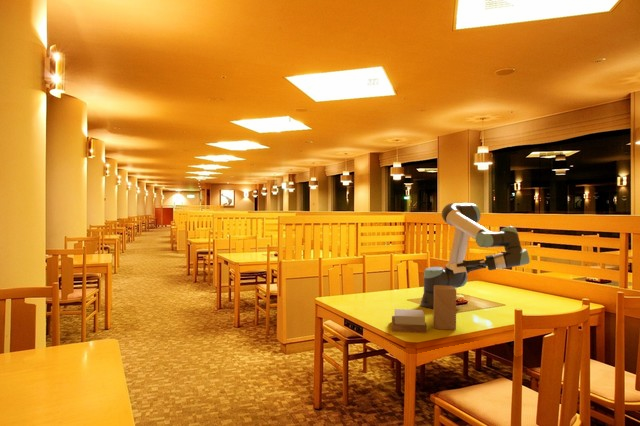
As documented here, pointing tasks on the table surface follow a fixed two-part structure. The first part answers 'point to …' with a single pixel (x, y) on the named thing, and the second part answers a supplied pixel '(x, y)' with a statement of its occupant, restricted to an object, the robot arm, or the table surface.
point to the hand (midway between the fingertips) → (451, 269)
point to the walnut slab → (408, 327)
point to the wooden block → (444, 307)
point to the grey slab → (409, 317)
